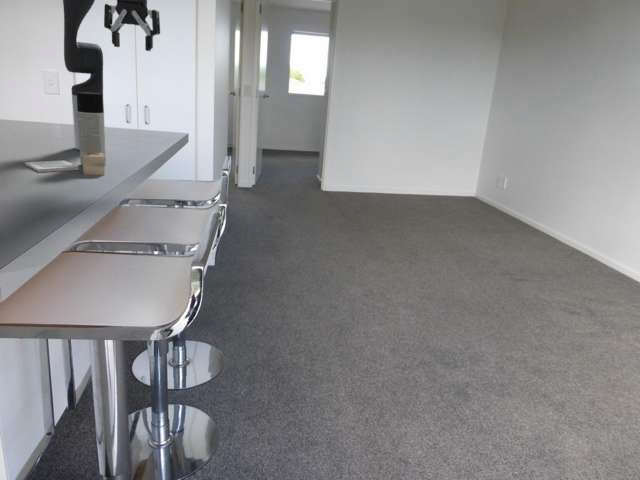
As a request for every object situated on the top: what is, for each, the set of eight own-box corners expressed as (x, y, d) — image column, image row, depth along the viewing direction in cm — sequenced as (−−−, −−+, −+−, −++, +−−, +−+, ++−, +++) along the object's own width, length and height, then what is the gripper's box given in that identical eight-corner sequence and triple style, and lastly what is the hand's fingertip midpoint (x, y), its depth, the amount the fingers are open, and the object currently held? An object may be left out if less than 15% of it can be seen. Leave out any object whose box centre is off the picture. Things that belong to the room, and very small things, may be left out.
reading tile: (25, 165, 135) (25, 161, 135) (64, 163, 142) (64, 160, 142) (38, 172, 129) (38, 168, 129) (78, 169, 136) (78, 166, 136)
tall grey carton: (111, 165, 145) (108, 93, 139) (94, 168, 139) (90, 93, 133) (92, 162, 147) (89, 91, 141) (74, 165, 141) (70, 91, 135)
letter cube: (83, 171, 135) (82, 152, 134) (103, 171, 137) (103, 152, 136) (83, 175, 131) (82, 155, 129) (104, 175, 133) (103, 155, 131)
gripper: (98, -23, 127) (100, 45, 133) (153, -16, 127) (153, 51, 133) (110, -19, 134) (112, 46, 140) (163, -12, 135) (163, 52, 140)
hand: (132, 48), depth 136 cm, fingers open, 8 cm apart
